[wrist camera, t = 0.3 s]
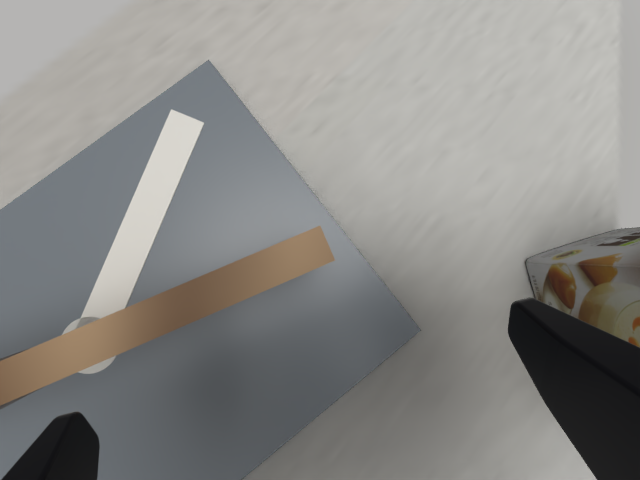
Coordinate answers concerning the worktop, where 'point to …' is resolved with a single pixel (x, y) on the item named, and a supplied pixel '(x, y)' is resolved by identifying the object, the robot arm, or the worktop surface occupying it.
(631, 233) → the coffee box
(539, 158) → the worktop surface
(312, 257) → the fence panel
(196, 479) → the mat
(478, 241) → the worktop surface
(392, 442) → the worktop surface
